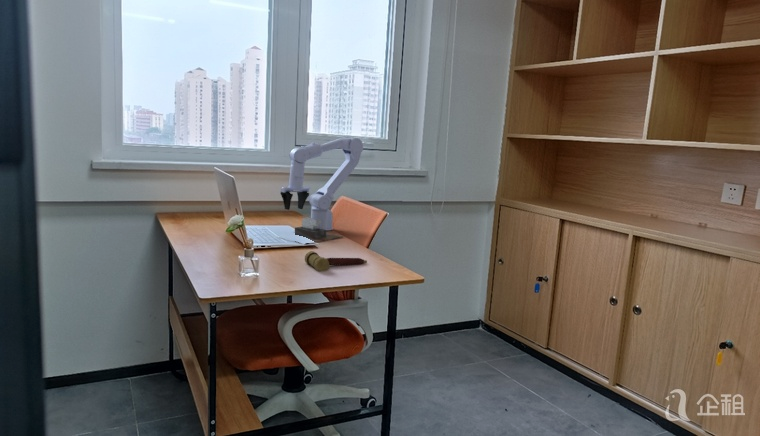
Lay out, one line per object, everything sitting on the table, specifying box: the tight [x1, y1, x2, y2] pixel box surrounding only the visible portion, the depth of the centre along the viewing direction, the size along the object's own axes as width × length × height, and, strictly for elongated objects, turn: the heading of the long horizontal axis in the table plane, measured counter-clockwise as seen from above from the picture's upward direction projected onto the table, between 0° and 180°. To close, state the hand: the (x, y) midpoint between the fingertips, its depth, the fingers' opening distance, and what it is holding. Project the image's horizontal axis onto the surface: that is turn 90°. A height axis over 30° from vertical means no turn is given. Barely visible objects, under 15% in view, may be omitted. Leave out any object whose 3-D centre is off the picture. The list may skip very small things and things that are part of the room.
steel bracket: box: [301, 216, 321, 231], centre depth 219 cm, size 3×8×7 cm, turn 55°
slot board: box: [294, 226, 344, 243], centre depth 220 cm, size 22×16×4 cm
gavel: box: [304, 250, 368, 272], centre depth 181 cm, size 21×5×10 cm
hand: (293, 209), depth 229 cm, fingers open, 7 cm apart
